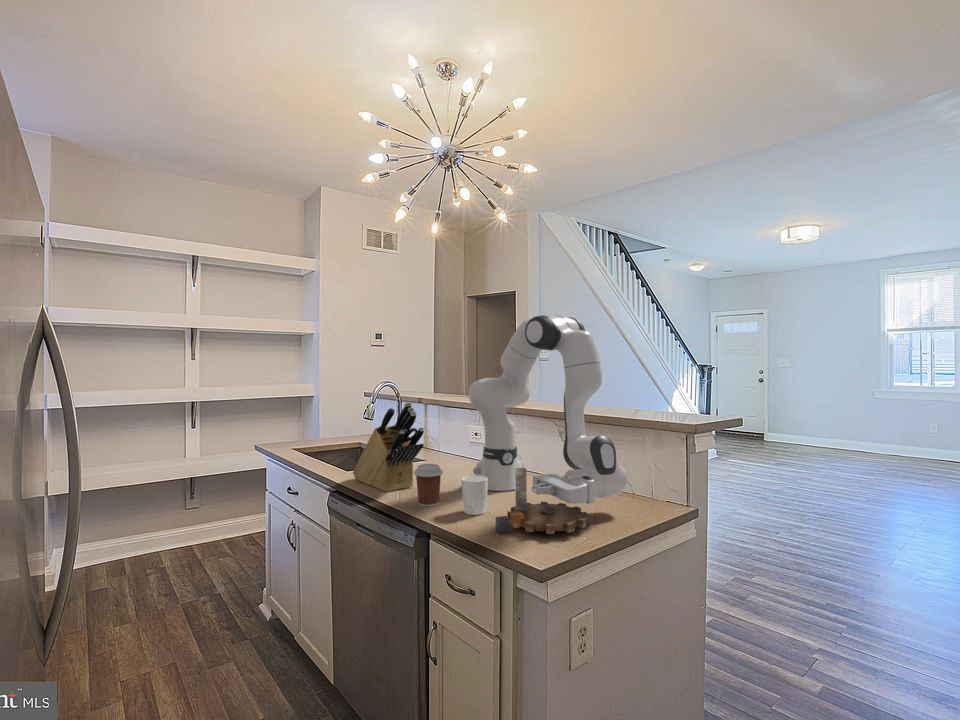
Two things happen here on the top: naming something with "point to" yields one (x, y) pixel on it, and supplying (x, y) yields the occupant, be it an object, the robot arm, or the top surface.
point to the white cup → (474, 494)
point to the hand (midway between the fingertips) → (534, 490)
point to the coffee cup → (428, 484)
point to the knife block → (391, 453)
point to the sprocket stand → (502, 525)
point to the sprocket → (542, 512)
